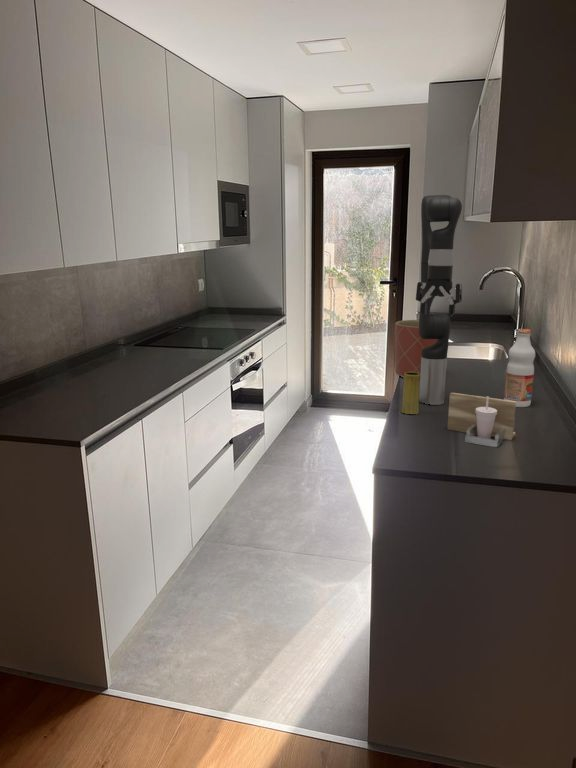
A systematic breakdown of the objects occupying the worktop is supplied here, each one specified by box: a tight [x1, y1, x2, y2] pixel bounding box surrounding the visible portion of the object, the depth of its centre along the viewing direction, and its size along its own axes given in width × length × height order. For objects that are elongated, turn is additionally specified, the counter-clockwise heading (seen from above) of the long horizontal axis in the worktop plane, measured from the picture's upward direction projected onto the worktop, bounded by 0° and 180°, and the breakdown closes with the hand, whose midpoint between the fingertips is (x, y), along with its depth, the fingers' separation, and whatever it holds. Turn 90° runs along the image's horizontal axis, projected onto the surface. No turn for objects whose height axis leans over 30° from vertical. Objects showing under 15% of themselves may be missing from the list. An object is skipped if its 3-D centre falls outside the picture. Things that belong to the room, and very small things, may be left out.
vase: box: [400, 372, 420, 415], centre depth 208 cm, size 6×6×14 cm
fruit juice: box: [503, 328, 536, 408], centre depth 217 cm, size 9×9×28 cm
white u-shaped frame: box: [464, 423, 505, 448], centre depth 181 cm, size 9×10×4 cm
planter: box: [394, 319, 438, 377], centre depth 262 cm, size 23×23×24 cm
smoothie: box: [475, 395, 497, 439], centre depth 180 cm, size 6×6×14 cm
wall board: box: [446, 392, 517, 441], centre depth 187 cm, size 5×20×12 cm, turn 58°
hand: (437, 315), depth 190 cm, fingers open, 8 cm apart
